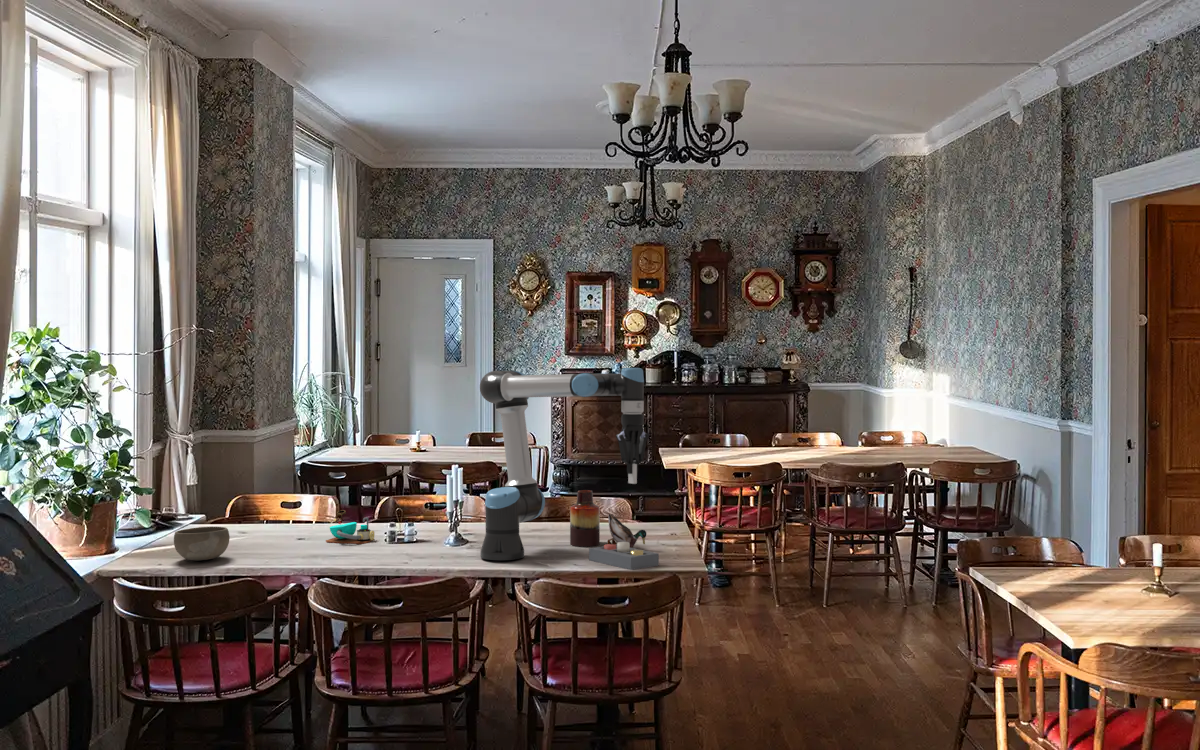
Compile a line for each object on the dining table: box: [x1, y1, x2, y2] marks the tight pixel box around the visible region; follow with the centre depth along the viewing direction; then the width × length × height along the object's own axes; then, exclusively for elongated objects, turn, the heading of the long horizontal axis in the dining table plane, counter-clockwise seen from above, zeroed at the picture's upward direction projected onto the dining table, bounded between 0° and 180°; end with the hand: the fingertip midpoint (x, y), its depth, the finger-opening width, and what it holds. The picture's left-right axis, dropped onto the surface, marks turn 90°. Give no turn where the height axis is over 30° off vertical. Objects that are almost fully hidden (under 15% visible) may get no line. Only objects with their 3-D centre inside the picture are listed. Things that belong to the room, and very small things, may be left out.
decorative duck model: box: [607, 513, 647, 548], centre depth 368 cm, size 15×8×15 cm, turn 60°
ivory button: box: [616, 542, 630, 553], centre depth 342 cm, size 4×4×4 cm
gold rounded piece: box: [631, 549, 644, 556], centre depth 337 cm, size 4×4×4 cm
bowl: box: [173, 526, 231, 561], centre depth 350 cm, size 17×18×10 cm
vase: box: [569, 489, 601, 548], centre depth 375 cm, size 11×11×20 cm
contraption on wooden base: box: [325, 509, 376, 545], centre depth 381 cm, size 14×18×15 cm
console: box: [588, 544, 660, 571], centre depth 342 cm, size 12×22×4 cm, turn 39°
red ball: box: [603, 543, 617, 550], centre depth 348 cm, size 4×4×4 cm
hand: (632, 483), depth 345 cm, fingers closed
